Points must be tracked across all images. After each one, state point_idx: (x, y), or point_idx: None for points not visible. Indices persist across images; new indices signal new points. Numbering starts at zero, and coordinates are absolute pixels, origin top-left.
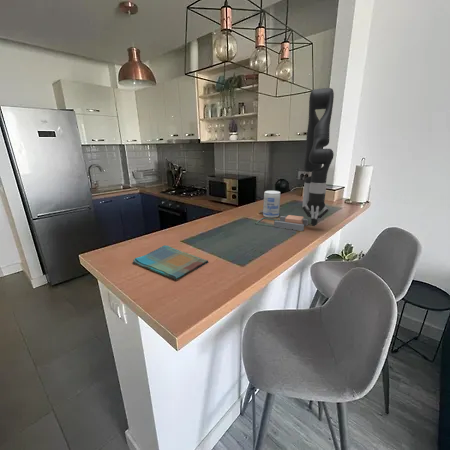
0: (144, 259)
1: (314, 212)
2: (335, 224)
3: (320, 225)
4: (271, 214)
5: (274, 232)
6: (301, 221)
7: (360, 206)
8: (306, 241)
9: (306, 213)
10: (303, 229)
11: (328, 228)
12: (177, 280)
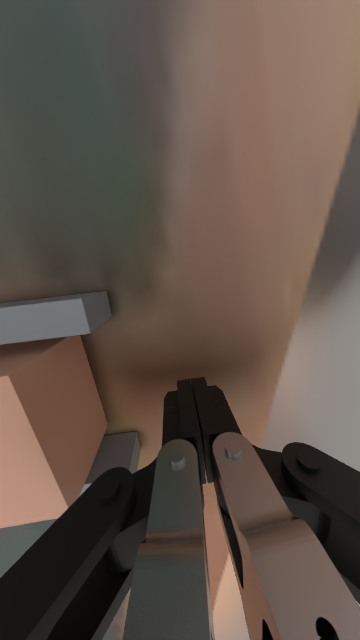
0: None
1: (208, 594)
2: (347, 108)
3: (213, 243)
4: None
5: (13, 543)
6: (73, 457)
7: None
8: (211, 548)
9: (61, 628)
10: (136, 443)
11: (289, 292)
12: None
